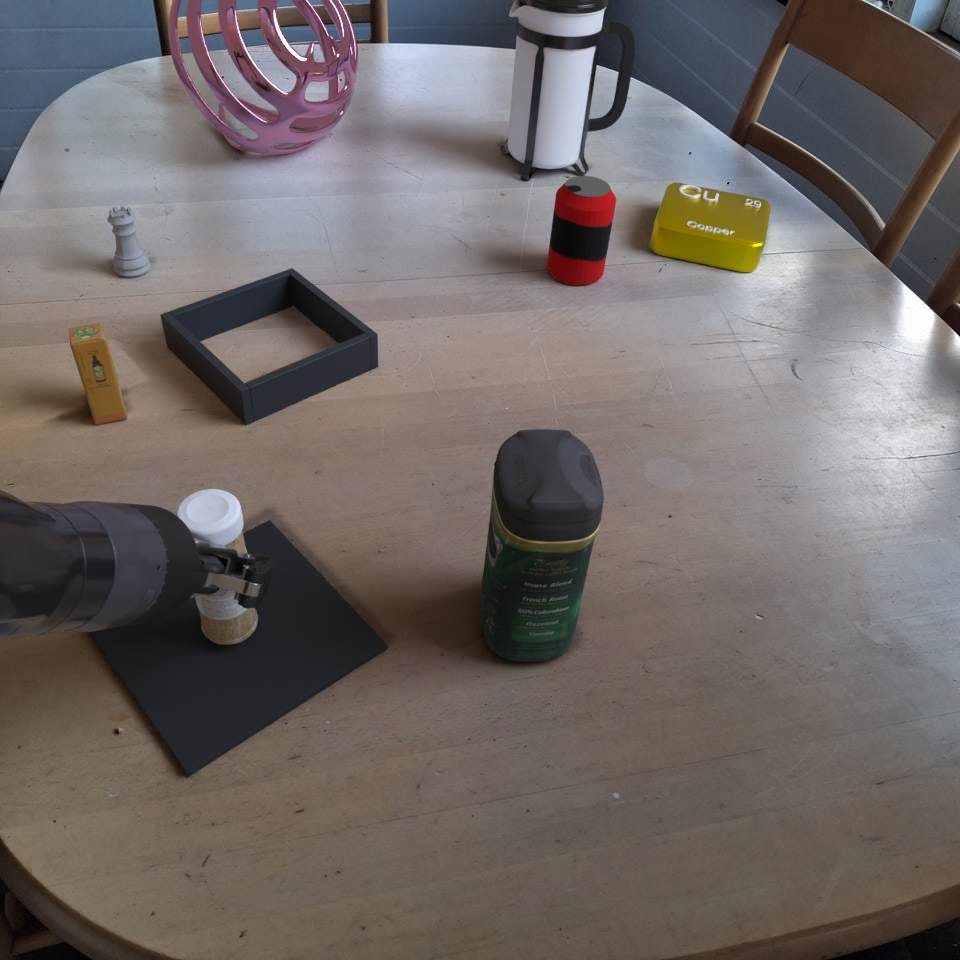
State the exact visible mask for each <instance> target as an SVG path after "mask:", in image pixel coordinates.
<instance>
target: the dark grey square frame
mask: <svg viewBox="0 0 960 960" xmlns="http://www.w3.org/2000/svg"><path fill="white" fill-rule="evenodd" d="M292 307H293V308H294V309H295V310H296V311H298V312H299V313H300V314H302V315H303V316H304V317H305V318H306V319H308V320H309V321H310V322H311V323H313V324H314V325H315V326H316V327H318V328H319V330H321V331H323V332H324V333H325V334H327V335H328V336H329V338H331V339H332V340H334V341H335V342H336V343H337V344H335V345H332V346H330V347H327V348H326V349H322V350H321V351H319V352H316V353H314V354H311V355H309V356H306V357H303V358H301V359H298V360H296V361H294V362H291V363H289V364H287V365H284V366H282V367H279V368H277V369H274V370H272V371H270V372H268V373H265V374H263V375H261V376H257V377H256V378H253V379H251V380H248V381H246V382H244V381H243V380H242V379H241V378H240V377H238V375H236V374H235V373H234V372H233V371H232V370H231V369H230V368H229V367H228V366H227V365H226V364H225V363H224V362H223V361H222V360H220V359H219V358H218V357H217V356H216V355H215V354H214V353H213V352H212V351H211V350H210V349H209V348H208V347H207V346H205V344H204V343H202V342H203V341H205V340H207V339H210V338H213V337H215V336H217V335H220V334H223V333H225V332H228V331H231V330H234V329H237V328H238V327H241V326H245V325H247V324H250V323H252V322H255V321H258V320H260V319H263V318H265V317H268V316H271V315H273V314H276V313H279V312H281V311H285V310H287V309H289V308H292ZM160 320H161V324H162V330H163V335H164V340H165V344H166V349H168V350H169V351H170V353H172V354H173V355H174V356H175V358H177V359H178V360H179V361H180V362H181V363H182V364H183V365H184V366H185V367H186V368H187V369H188V371H190V372H191V373H192V374H193V375H194V376H195V377H196V378H197V379H198V380H199V381H200V382H201V383H202V384H203V385H204V386H205V387H206V388H207V389H208V390H209V391H210V392H211V393H212V394H213V395H214V396H216V398H218V400H220V401H221V402H222V403H223V405H225V406H226V407H227V408H228V409H229V410H230V411H231V412H232V413H233V414H234V415H235V416H236V417H237V419H239V420H240V422H242V423H243V424H244V425H245V426H248V425H250V424H253V423H255V422H256V421H259V420H261V419H263V418H265V417H268V416H270V415H272V414H275V413H277V412H279V411H282V410H283V409H286V408H288V407H290V406H293V405H295V404H298V403H301V402H302V401H304V400H306V399H308V398H311V397H313V396H315V395H318V394H320V393H322V392H325V391H327V390H329V389H331V388H333V387H335V386H338V385H340V384H343V383H344V382H347V381H349V380H352V379H354V378H356V377H358V376H360V375H363V374H365V373H368V372H369V371H372V370H374V369H377V368H379V342H378V341H379V336H378V333H377V332H376V331H375V330H373V329H372V328H370V327H369V326H368V324H365V323H364V322H362V321H361V320H360V319H359V318H358V317H357V316H355V315H354V314H353V313H351V312H350V311H349V310H348V309H346V308H345V307H343V306H342V305H341V304H340V303H338V302H337V301H336V300H334V299H333V298H332V297H330V296H329V295H328V294H326V292H324V291H323V290H322V289H320V288H319V287H317V286H316V285H315V284H314V283H312V282H311V281H310V280H308V278H306V277H305V276H303V274H301V273H300V272H298V271H297V270H295V269H294V268H293V267H292V268H288V269H286V270H283V271H280V272H277V273H275V274H271V275H268V276H265V277H263V278H260V279H257V280H255V281H252V282H249V283H246V284H243V285H240V286H237V287H235V288H231V289H229V290H226V291H223V292H221V293H217V294H214V295H212V296H209V297H206V298H202V299H201V300H197V301H195V302H192V303H188V304H186V305H183V306H180V307H178V308H175V309H171V310H169V311H166V312H163V313H160Z"/></svg>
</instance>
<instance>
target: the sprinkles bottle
mask: <svg viewBox="0 0 960 960" xmlns="http://www.w3.org/2000/svg"><path fill="white" fill-rule="evenodd" d="M175 515H176V516H178V517H179V518H180V519H181V520H182V521H183V522H184V523H185V524H186V526H187V527H188V528H189V530H190V532H191V533H192V535H193V537H194V538H196V539H199V540H201V541H204V542H207V543H211V544H219V545H224V546H227V547H230V548H232V549H235V550H237V553H240V554H245V553H247V550H246V547H245V542H244V537H243V533H244V525H245V523H244V515H243V511H242V507H241V503H240V501H239V500H238V498H237V497H236V496H235V495H234V494H232V493H231V492H228V491H226V490H223V489H217V488H208V489H206V488H205V489H201V490H198V491H195V492H193V493H191V494H188V495H187V496H186V497H185V498H183V500H181V502H180V503H179V504H178V506H177V508H176V510H175ZM213 555H215V554H213ZM215 556H216V555H215ZM236 564H237V563H236ZM236 564H235V565H234V568H233V571H232V574H234V571H235V567H236ZM234 596H235V592H233V591H230V590H228V591H227V592H226V594H225V595H223V596H210V595H197V596H196V597H195V599H196V604H197V607H198V609H199V612H200V617H201V621H202V622H201V628H202V631H203V633H204V635H205V636H206V637H207V638H208V639H209V640H211V641H212V642H214V643H217V644H221V645H231V644H236V643H240V642H242V641H244V640H245V639H247V638H248V637H249V636H250V635H251V634H252V633H253V632H254V631H255V629H256V626H257V624H258V615H257V611H256V610H255V608H250V609H247V608H243V607H242V606H241V605H239V604H238V601H237V600H234Z"/></svg>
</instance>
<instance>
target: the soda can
mask: <svg viewBox="0 0 960 960" xmlns="http://www.w3.org/2000/svg"><path fill="white" fill-rule="evenodd" d="M554 199H555V200H554V208H553V215H552V222H551V230H550V237H549V244H548V245H549V246H548V254H547V261H546V270H547V272H548V273H549V274H550V276H551V277H552V278H553V279H554V280H556V281H558V282H560V283H563V284H565V285H570V286H578V287H579V286H589V285H592V284H595V283H596V282H598V281H599V280H600V279H601V278H602V277H603V276H604V272H605V267H606V262H607V255H608V250H609V245H610V240H611V239H610V238H611V235H612V234H611V232H612V227H613V221H614V216H615V212H616V211H615V210H616V204H617V197H616V195H615V193H614V192H613V190H612V188H611V185H610V184H609V183H608V182H607V181H605V180H603V179H601V178H599V177H594V176H589V175H584V176H579V175H578V176H577V175H576V176H573V177H570V178H568V179H567V180H566V181H565V182H564V183H563V184H562V185H561V186H560V187H559V188H558V189H557V190H556V193H555V198H554Z"/></svg>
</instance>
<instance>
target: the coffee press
mask: <svg viewBox="0 0 960 960" xmlns="http://www.w3.org/2000/svg"><path fill="white" fill-rule="evenodd" d="M608 5H609V0H514V1H513V3H512V5H511V7H510V10H509V14H508V16H509V17H510V18H516V21H515V34H516V40H515V41H516V42H515V52H514V53H515V54H514V65H513V75H512V87H511V96H510V97H511V98H510V109H509V111H510V112H509V121H508V131H507V132H508V133H507V134H508V135H507V138H506V140H505V141H504V143H502V145H501V146H500V149H499V151H500V153H501V154H502V155H503V156H506V155H509V154H510V155H511V156H512V157H513V158H514V159H515V160H516V161H517V162H520V163H521V164H523V165H522V168H521V171H520V174H519V175H520V176H519V177H520V179H522V180H524V181H525V180H526V181H529V182H530V181H531V179H532V177H533V175H534V172H535V170H536V169H537V168H538V169H545V170H556V169H563V168H567V167H571V168H572V169H573V170H574V171H575V173H576V174H577V175H578V176H586V174H587V173H588V172H589V169H590V167H589V165H588V163H587V160H586V158H585V149H586V141H587V140H588V133H589V132H598V131H601V130H606V129H608V128H610V127H611V126H613V125H614V124H615V123H617V121H618V120H619V119H620V118H621V116H622V114H623V112H624V110H625V107H626V104H627V100H628V95H629V91H630V84H631V78H632V72H633V68H634V67H633V66H634V61H635V52H636V45H635V44H636V43H635V37H634V34H633V32H632V30H631V29H630V27H629V26H628V25H626V24H625V22H622V21H620V20H617V19H611V18H609V19H608V20H604V15H605V10H606V9H607V7H608ZM603 34H610V35H617V36H618V37H619V39H620V42H621V43H620V44H621V55H620V61H619V67H618V72H617V73H618V74H617V78H616V79H617V80H616V85H615V92H614V96H613V102H612V105H611V107H610V109H609V110H608V112H607V113H606V114H605V115H602V116H600V117H596V118H590V113H591V108H592V100H593V94H594V87H595V80H596V75H597V74H596V73H597V66H598V59H599V52H600V43H601V42H602V39H603ZM505 145H507V149H508V150H507V149H506V148H505ZM579 160H580V163H581V166H582V168H583V170H584V171H582V169H581V168H580V166H579V165H578V164H577V162H578V161H579Z"/></svg>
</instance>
